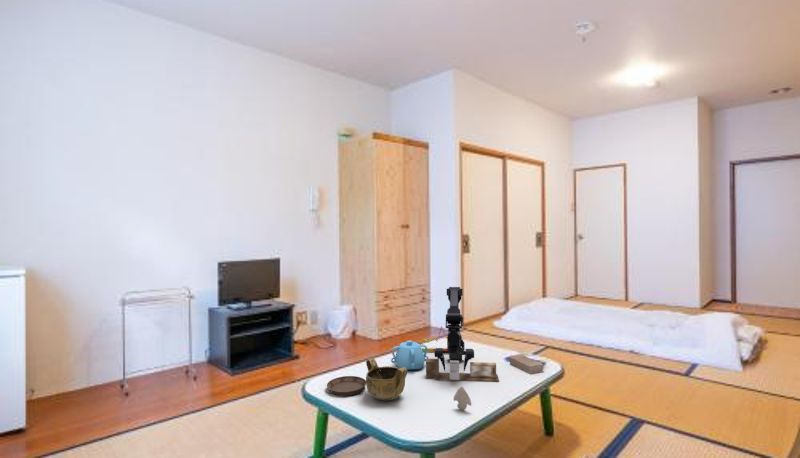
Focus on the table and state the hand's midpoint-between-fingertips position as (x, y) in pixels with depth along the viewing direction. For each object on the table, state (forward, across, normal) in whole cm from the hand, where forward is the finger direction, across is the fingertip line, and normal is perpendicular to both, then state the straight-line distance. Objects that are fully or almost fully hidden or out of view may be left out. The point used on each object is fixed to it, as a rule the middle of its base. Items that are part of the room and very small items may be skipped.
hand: (454, 370), depth 204 cm
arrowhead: (+4, +3, -35) cm, 36 cm away
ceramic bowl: (+4, -29, -26) cm, 39 cm away
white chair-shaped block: (+2, 0, 0) cm, 3 cm away
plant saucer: (+4, -48, -18) cm, 52 cm away
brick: (+4, +36, +16) cm, 40 cm away
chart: (+4, -10, +38) cm, 40 cm away
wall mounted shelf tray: (+2, +14, 0) cm, 14 cm away
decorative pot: (+4, -23, +13) cm, 26 cm away
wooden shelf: (+3, +3, 0) cm, 5 cm away
